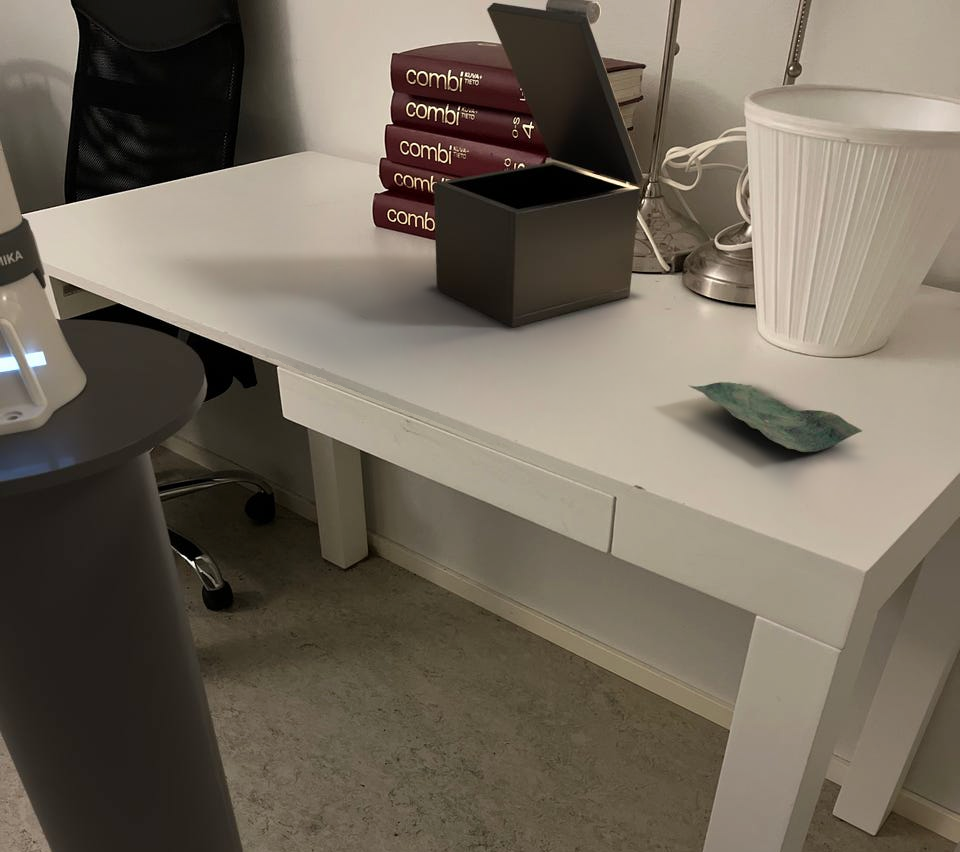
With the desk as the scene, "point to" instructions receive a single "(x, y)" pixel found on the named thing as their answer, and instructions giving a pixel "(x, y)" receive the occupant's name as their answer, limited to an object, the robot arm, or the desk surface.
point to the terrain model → (780, 418)
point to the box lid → (567, 85)
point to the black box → (534, 241)
